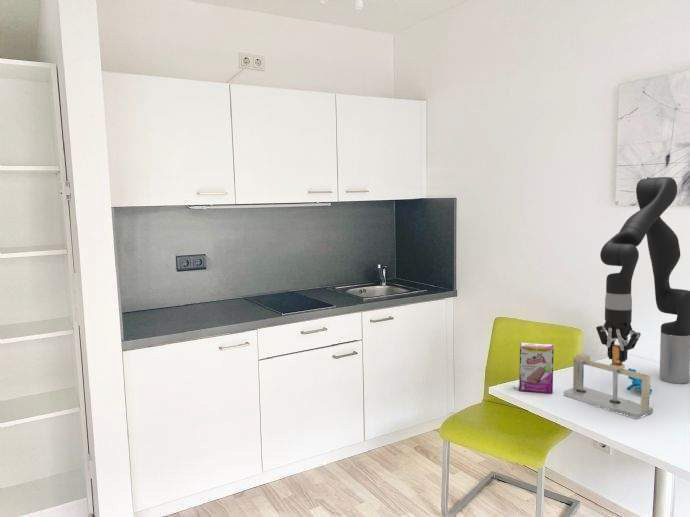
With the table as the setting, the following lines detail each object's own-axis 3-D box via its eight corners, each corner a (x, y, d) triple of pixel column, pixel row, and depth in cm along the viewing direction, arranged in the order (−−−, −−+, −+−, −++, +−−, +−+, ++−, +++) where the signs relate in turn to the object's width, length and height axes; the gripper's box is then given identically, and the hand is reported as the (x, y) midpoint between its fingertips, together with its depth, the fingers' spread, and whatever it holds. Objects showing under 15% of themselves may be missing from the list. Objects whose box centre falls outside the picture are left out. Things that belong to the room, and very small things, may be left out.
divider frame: (579, 389, 183) (580, 351, 181) (652, 412, 162) (654, 369, 160) (563, 395, 178) (564, 355, 177) (636, 419, 157) (637, 374, 156)
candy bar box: (519, 391, 183) (519, 345, 181) (519, 386, 188) (519, 342, 186) (553, 394, 179) (553, 347, 178) (552, 389, 184) (553, 343, 182)
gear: (646, 394, 172) (625, 368, 178) (631, 403, 176) (611, 377, 181) (659, 390, 179) (638, 365, 185) (644, 399, 183) (625, 374, 188)
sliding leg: (614, 397, 170) (615, 344, 168) (623, 400, 167) (625, 346, 165) (609, 399, 168) (610, 345, 166) (618, 402, 166) (619, 347, 164)
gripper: (647, 308, 160) (645, 363, 162) (604, 302, 172) (603, 353, 174) (633, 311, 157) (632, 367, 158) (590, 305, 169) (589, 357, 170)
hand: (617, 359), depth 166 cm, fingers closed on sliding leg, 3 cm apart
